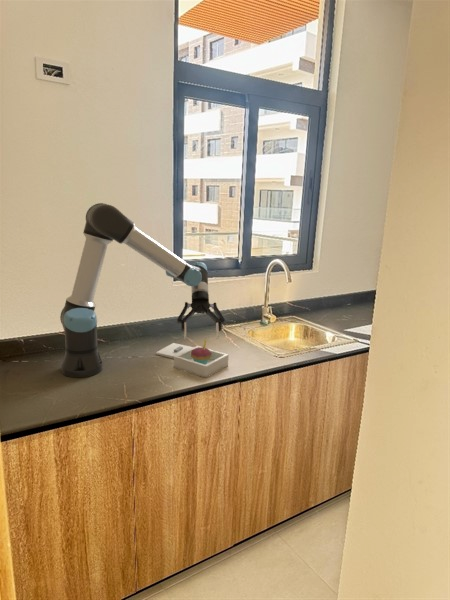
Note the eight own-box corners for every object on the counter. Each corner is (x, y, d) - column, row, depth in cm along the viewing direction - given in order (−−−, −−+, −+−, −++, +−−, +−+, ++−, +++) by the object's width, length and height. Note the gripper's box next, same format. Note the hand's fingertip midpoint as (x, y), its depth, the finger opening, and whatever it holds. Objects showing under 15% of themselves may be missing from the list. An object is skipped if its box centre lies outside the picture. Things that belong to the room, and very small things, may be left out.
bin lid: (183, 360, 174) (184, 356, 174) (156, 354, 180) (156, 350, 179) (199, 350, 187) (199, 346, 186) (173, 344, 192) (173, 340, 192)
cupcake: (213, 362, 172) (214, 335, 169) (207, 370, 164) (208, 341, 161) (194, 359, 174) (195, 332, 172) (187, 366, 166) (187, 338, 164)
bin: (205, 378, 159) (206, 366, 158) (173, 367, 167) (173, 356, 166) (228, 365, 172) (228, 354, 171) (197, 356, 180) (197, 345, 179)
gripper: (226, 299, 188) (229, 341, 177) (171, 298, 184) (171, 341, 173) (229, 290, 181) (232, 333, 171) (171, 289, 178) (171, 333, 167)
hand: (201, 337), depth 172 cm, fingers open, 13 cm apart
